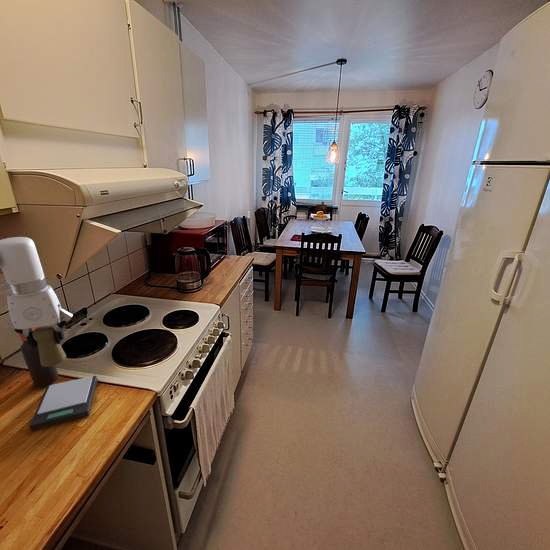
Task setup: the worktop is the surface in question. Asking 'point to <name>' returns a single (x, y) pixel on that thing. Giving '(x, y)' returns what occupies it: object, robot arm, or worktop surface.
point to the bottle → (37, 365)
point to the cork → (48, 346)
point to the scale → (64, 402)
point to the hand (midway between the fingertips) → (48, 343)
